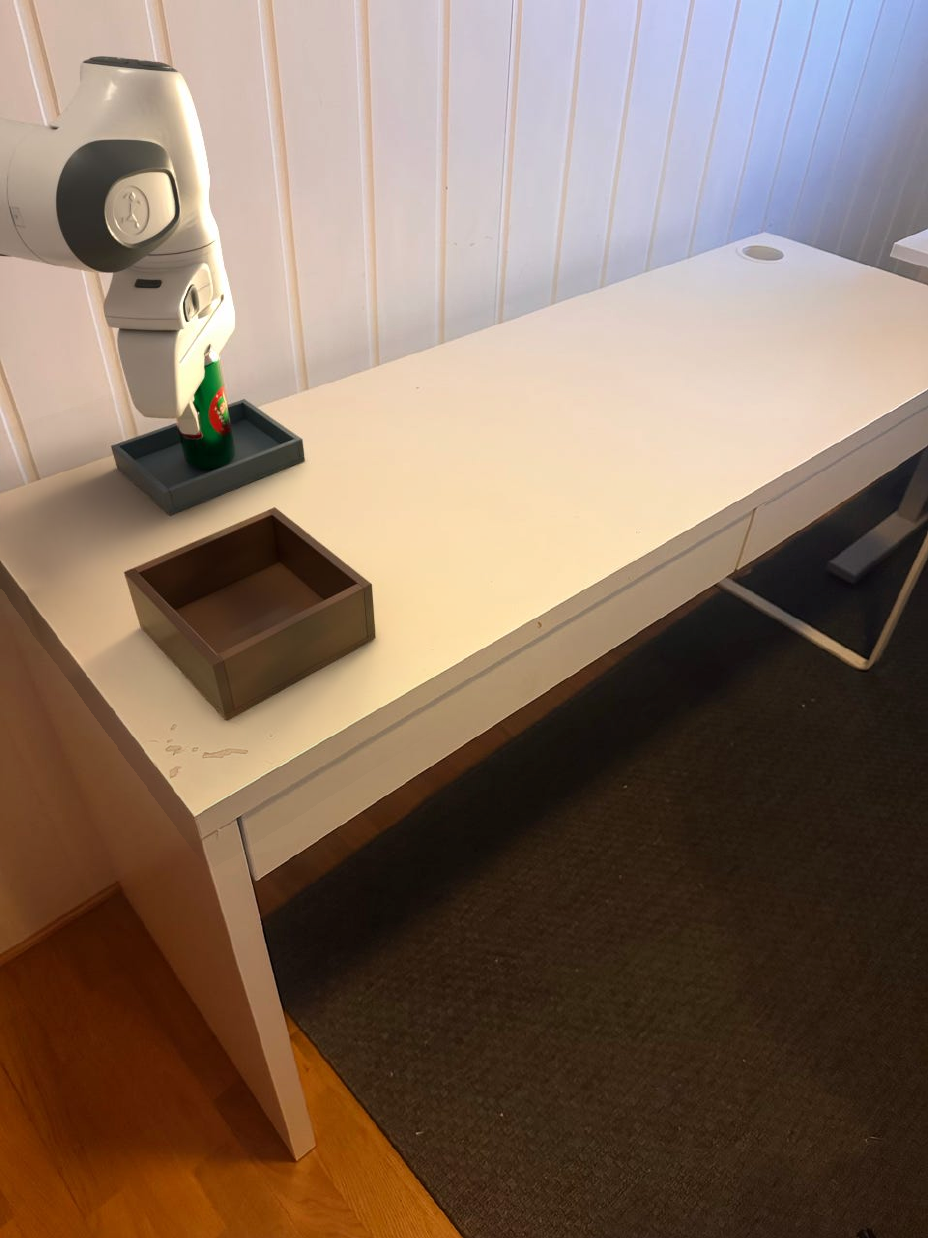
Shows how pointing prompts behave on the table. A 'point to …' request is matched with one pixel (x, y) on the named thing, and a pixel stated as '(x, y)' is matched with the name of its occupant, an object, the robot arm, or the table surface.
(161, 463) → the tray
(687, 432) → the table surface
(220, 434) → the soda can
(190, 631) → the basket
